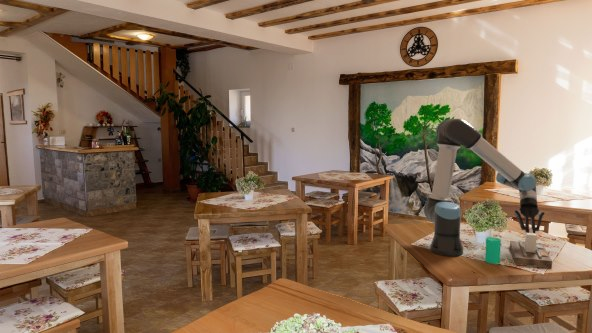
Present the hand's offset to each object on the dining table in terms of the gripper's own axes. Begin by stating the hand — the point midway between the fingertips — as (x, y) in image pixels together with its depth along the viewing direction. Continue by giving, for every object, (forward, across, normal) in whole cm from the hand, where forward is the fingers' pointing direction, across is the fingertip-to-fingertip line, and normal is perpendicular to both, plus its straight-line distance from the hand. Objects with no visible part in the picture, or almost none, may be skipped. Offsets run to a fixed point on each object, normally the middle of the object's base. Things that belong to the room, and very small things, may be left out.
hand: (531, 242), depth 192 cm
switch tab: (+5, +1, 0) cm, 5 cm away
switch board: (+5, +1, -4) cm, 7 cm away
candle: (+15, +17, +6) cm, 23 cm away
